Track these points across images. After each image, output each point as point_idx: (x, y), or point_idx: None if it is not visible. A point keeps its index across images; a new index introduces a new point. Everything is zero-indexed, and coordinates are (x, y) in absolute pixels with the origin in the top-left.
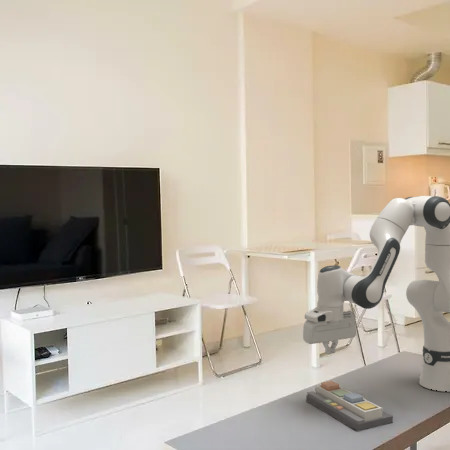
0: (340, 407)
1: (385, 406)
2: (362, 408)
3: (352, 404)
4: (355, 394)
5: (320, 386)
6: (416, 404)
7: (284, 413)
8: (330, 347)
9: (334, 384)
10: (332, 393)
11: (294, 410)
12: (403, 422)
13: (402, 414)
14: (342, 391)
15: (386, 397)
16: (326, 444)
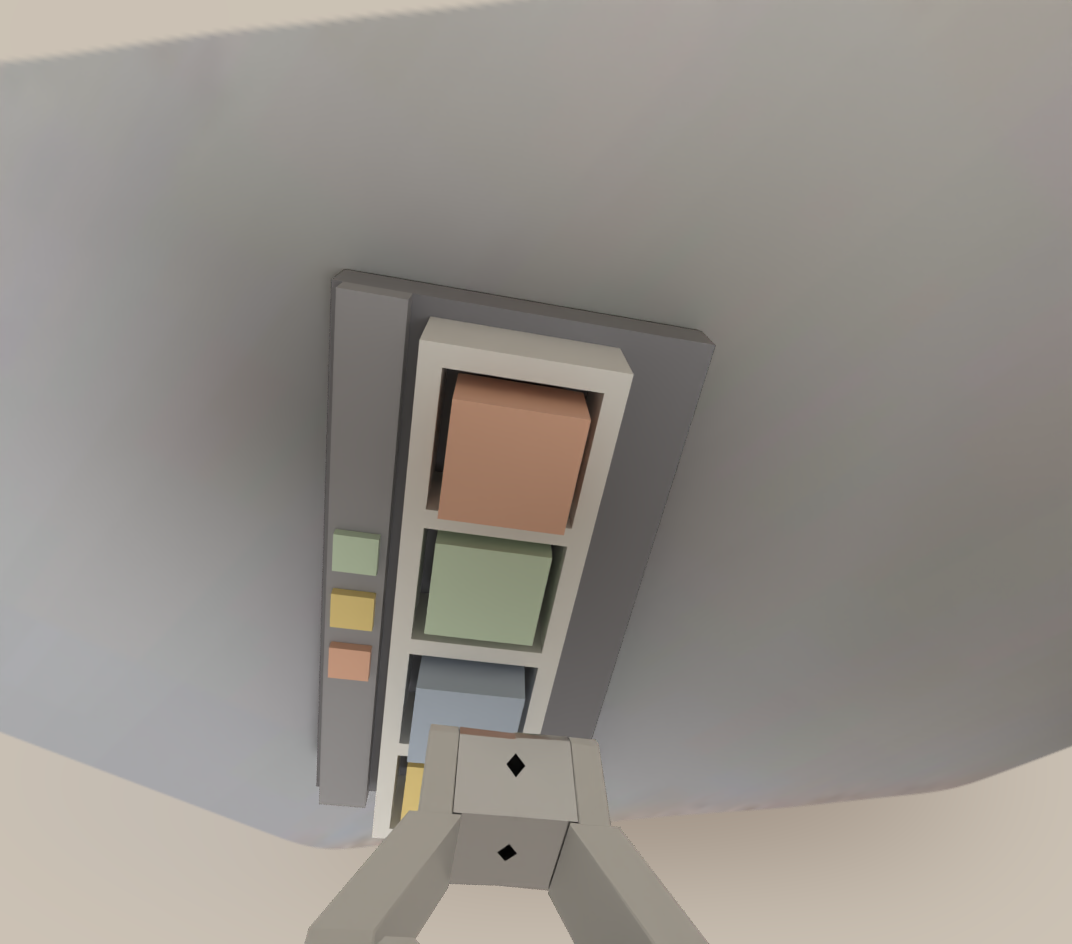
0: (349, 671)
1: (743, 643)
2: (402, 806)
3: (392, 750)
4: (494, 726)
5: (461, 367)
6: (898, 709)
7: (28, 347)
8: (543, 834)
9: (528, 509)
10: (417, 561)
11: (141, 351)
12: (617, 789)
13: (705, 742)
14: (516, 584)
15: (896, 565)
16: (90, 758)
